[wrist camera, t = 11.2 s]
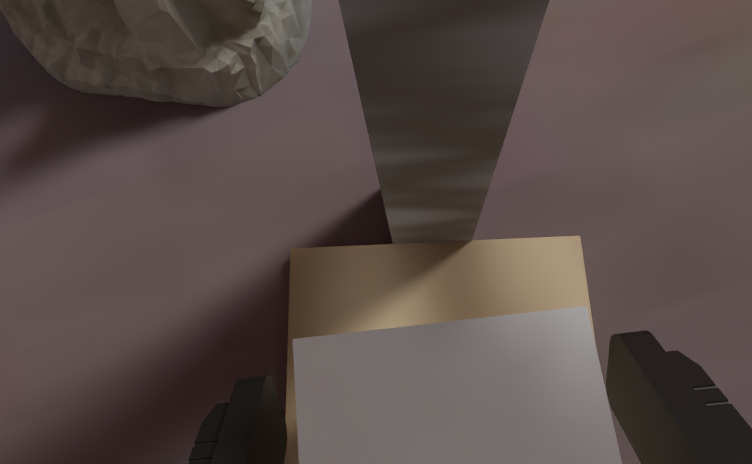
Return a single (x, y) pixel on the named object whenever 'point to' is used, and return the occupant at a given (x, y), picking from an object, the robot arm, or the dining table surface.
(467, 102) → the keeper
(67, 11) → the gray sandcastle
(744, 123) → the dining table surface
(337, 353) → the gray rectangular block
